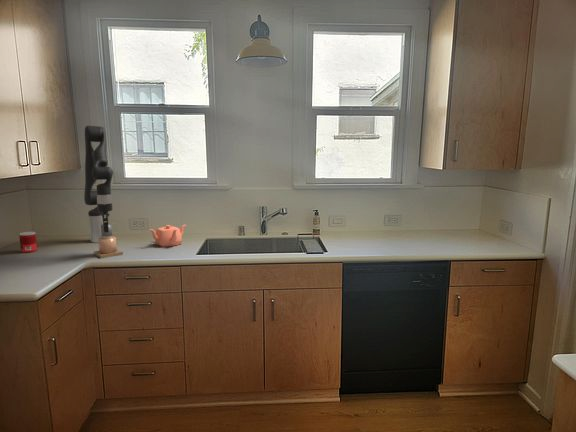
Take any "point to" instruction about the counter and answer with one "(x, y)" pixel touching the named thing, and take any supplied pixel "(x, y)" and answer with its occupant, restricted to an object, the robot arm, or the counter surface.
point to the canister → (107, 247)
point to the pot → (168, 235)
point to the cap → (106, 232)
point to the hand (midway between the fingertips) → (106, 230)
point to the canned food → (28, 242)
